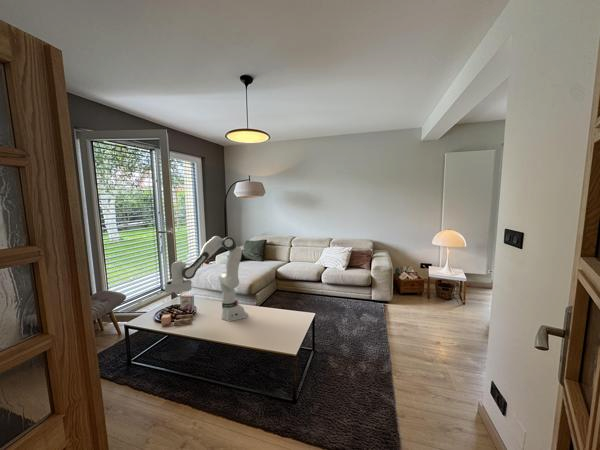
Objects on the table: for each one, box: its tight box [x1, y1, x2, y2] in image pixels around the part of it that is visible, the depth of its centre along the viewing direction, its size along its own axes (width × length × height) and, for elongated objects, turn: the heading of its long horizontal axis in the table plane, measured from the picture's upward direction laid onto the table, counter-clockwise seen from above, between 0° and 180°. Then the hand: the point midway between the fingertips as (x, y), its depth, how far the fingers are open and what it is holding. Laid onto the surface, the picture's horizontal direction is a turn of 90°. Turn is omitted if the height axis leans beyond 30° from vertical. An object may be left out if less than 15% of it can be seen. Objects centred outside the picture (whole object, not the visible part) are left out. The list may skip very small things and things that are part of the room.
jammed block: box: [160, 313, 172, 326], centre depth 209 cm, size 6×6×6 cm
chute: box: [163, 313, 194, 328], centre depth 212 cm, size 21×10×4 cm, turn 104°
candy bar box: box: [179, 293, 195, 311], centre depth 230 cm, size 11×5×16 cm, turn 84°
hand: (179, 296), depth 210 cm, fingers closed
